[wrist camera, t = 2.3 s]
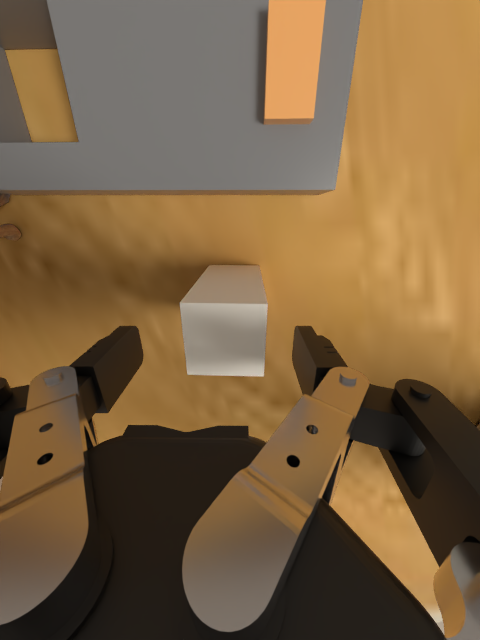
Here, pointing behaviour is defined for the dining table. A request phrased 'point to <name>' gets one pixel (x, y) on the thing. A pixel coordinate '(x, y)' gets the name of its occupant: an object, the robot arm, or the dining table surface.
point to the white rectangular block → (225, 322)
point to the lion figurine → (8, 229)
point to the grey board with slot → (184, 96)
